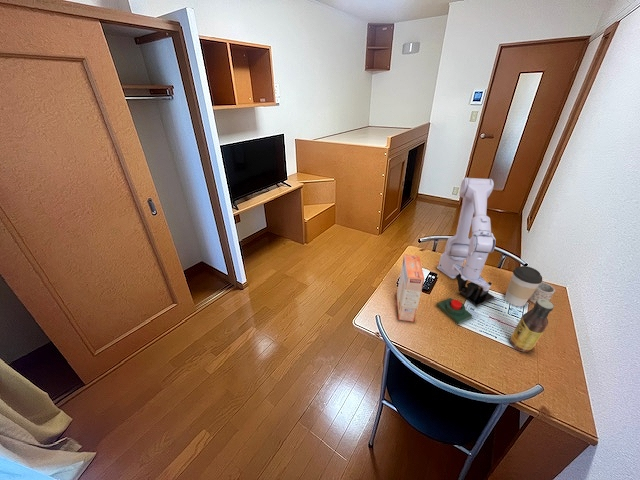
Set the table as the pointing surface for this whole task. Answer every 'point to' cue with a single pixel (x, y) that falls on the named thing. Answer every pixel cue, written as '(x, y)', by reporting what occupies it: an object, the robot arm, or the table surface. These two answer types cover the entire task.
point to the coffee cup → (522, 285)
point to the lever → (466, 289)
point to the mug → (542, 292)
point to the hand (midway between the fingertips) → (464, 293)
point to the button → (456, 304)
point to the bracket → (478, 296)
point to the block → (454, 311)
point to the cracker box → (409, 287)
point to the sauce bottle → (531, 326)
